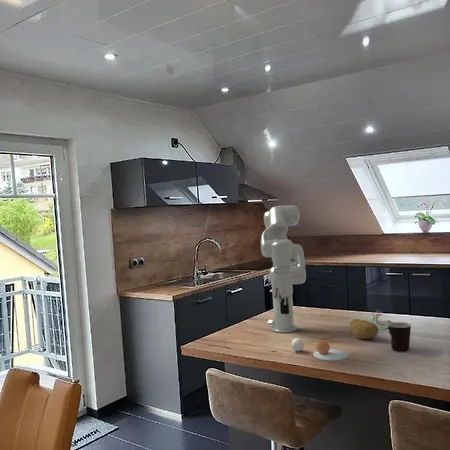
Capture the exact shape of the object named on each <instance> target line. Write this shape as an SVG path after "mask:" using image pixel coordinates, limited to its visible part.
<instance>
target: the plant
mask: <svg viewBox="0 0 450 450" xmlns="http://www.w3.org/2000/svg"><path fill="white" fill-rule="evenodd" d="M372 315H373V316H372V318H373V319H369V318H359V317H358V318H357V317H356V318H354V319H360V320H364V321H368V322H371V323H374V324H375V325H376V326H377V327H378V331H383V329H384V330H386V329H389V328H388V324H389V323H394V322H393V321H392V320H391V319H385V320H381V319H378V318H379V317H381V316H382V315H383V311H378V310H375V312H372ZM354 319H352V320H354Z"/></svg>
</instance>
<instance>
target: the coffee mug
mask: <svg viewBox="0 0 450 450" xmlns="http://www.w3.org/2000/svg"><path fill="white" fill-rule="evenodd" d="M411 327H412V324H411V323H408V322H401V321H397V322H396V321H395V322H394V323H389V324H388V328H387V329H388V331H389V332H388V333H389V340H390V344H391V349H392V351H393V352H398V353H405V352H409V351H410V344H411V343H410V341H411Z"/></svg>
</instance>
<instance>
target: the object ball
mask: <svg viewBox="0 0 450 450" xmlns="http://www.w3.org/2000/svg"><path fill="white" fill-rule="evenodd" d="M330 346H331V345H330V343H329V342H328V341H327V340H322V339H321V340H319V341H318V342H317V343H316V345H315V349H316V352H317V351H318V352H319V353H320V354H326V353H328V352H329V349H331V347H330Z"/></svg>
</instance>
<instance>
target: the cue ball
mask: <svg viewBox="0 0 450 450" xmlns="http://www.w3.org/2000/svg"><path fill="white" fill-rule="evenodd" d="M290 347H291V349H292V350H293V351H295V352H301V351H303V349H304V348H305V342H304V340H303V339H301V338H299V337H295V338H293V339H292V340H291V342H290Z"/></svg>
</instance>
